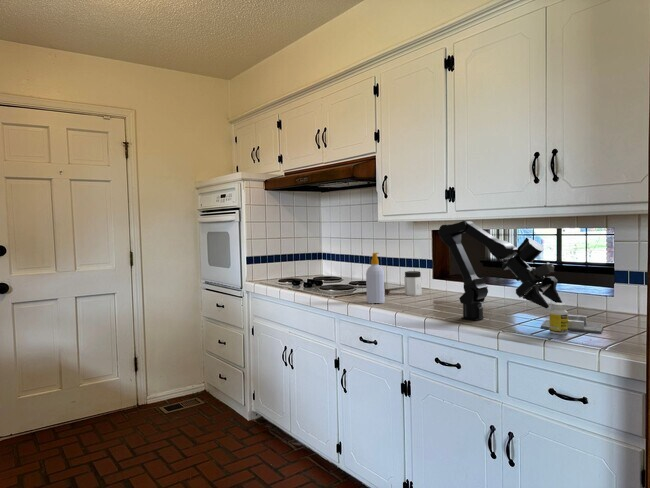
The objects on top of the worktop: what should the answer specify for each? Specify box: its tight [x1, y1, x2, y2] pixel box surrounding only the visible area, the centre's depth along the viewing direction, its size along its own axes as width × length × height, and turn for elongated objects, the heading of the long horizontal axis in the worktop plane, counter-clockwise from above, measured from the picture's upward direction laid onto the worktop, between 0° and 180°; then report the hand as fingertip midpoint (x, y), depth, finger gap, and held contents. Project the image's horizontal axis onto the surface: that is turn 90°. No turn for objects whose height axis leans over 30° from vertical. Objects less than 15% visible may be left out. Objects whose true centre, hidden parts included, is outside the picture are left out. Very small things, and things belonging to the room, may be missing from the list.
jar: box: [404, 270, 423, 297], centre depth 245 cm, size 9×8×12 cm
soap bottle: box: [365, 252, 386, 304], centre depth 223 cm, size 9×9×24 cm
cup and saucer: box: [384, 281, 391, 295], centre depth 251 cm, size 12×12×6 cm
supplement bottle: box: [548, 302, 569, 335], centre depth 154 cm, size 5×5×10 cm
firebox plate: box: [540, 314, 604, 335], centre depth 161 cm, size 18×12×3 cm, turn 56°
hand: (554, 305), depth 155 cm, fingers open, 9 cm apart
